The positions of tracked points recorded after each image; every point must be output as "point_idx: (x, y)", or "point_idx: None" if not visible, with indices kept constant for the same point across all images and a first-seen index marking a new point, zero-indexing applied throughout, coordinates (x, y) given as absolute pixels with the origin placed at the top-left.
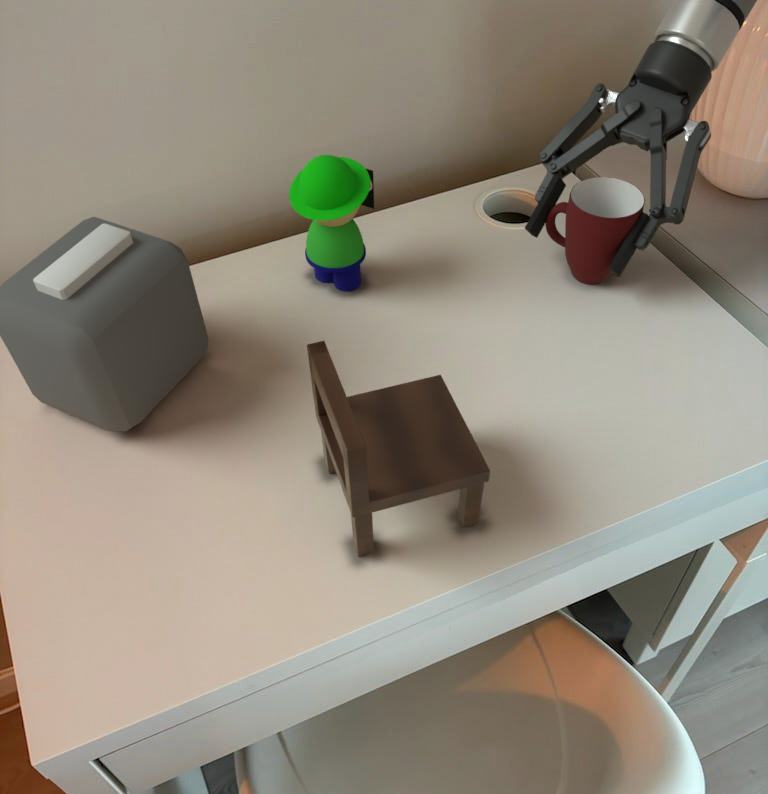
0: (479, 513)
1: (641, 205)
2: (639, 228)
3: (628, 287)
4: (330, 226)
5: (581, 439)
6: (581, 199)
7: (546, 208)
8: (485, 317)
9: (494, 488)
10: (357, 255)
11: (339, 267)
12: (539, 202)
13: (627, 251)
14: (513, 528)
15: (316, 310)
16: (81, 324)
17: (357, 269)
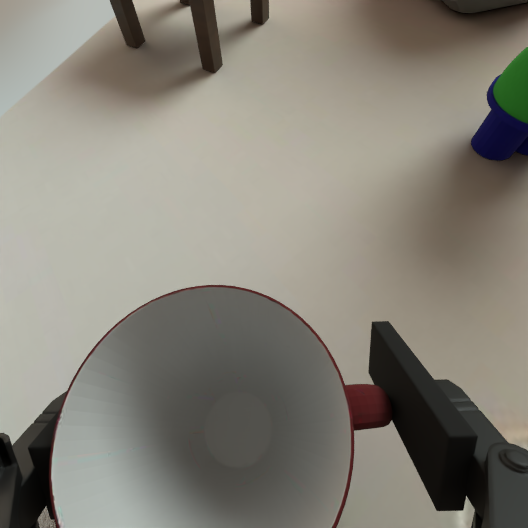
0: (120, 27)
1: (82, 524)
2: None
3: None
4: None
5: (82, 143)
6: (329, 462)
7: (395, 384)
8: (301, 211)
9: (133, 68)
10: (504, 93)
11: (495, 81)
12: (416, 361)
13: None
14: (99, 56)
15: (460, 100)
16: None
17: (491, 122)
